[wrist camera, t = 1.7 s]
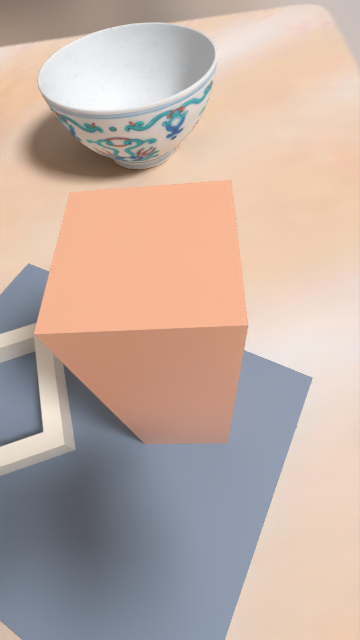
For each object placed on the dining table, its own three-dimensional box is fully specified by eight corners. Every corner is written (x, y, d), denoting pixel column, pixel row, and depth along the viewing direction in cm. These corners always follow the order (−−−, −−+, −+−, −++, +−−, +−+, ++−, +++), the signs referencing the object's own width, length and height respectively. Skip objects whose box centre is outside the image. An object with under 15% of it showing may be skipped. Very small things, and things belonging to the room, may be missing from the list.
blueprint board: (182, 755, 13) (179, 774, 12) (-145, 480, 20) (-164, 478, 19) (307, 384, 20) (312, 377, 19) (35, 272, 27) (28, 263, 26)
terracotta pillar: (227, 443, 18) (247, 324, 7) (145, 444, 18) (33, 334, 7) (222, 365, 20) (231, 179, 9) (149, 367, 20) (69, 192, 9)
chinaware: (121, 100, 39) (102, 16, 33) (239, 122, 35) (245, 30, 28) (42, 177, 33) (-1, 93, 27) (173, 216, 29) (161, 127, 22)
